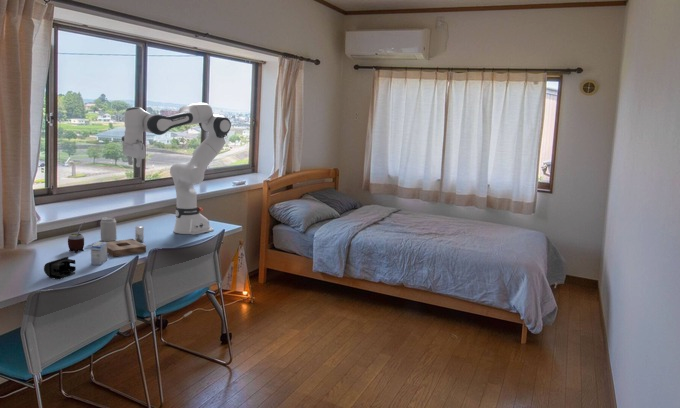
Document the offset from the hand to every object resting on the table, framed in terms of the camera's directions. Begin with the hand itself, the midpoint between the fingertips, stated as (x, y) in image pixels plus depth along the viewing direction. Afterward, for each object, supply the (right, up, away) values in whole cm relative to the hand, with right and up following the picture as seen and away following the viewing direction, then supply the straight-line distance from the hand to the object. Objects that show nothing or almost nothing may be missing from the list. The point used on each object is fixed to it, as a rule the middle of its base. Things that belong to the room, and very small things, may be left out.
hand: (134, 165), depth 274 cm
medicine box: (-3, -46, -34) cm, 57 cm away
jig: (0, -43, -14) cm, 45 cm away
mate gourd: (-20, -43, -19) cm, 51 cm away
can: (-14, -39, +2) cm, 41 cm away
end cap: (-10, -50, -53) cm, 73 cm away
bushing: (+1, -40, +3) cm, 40 cm away
